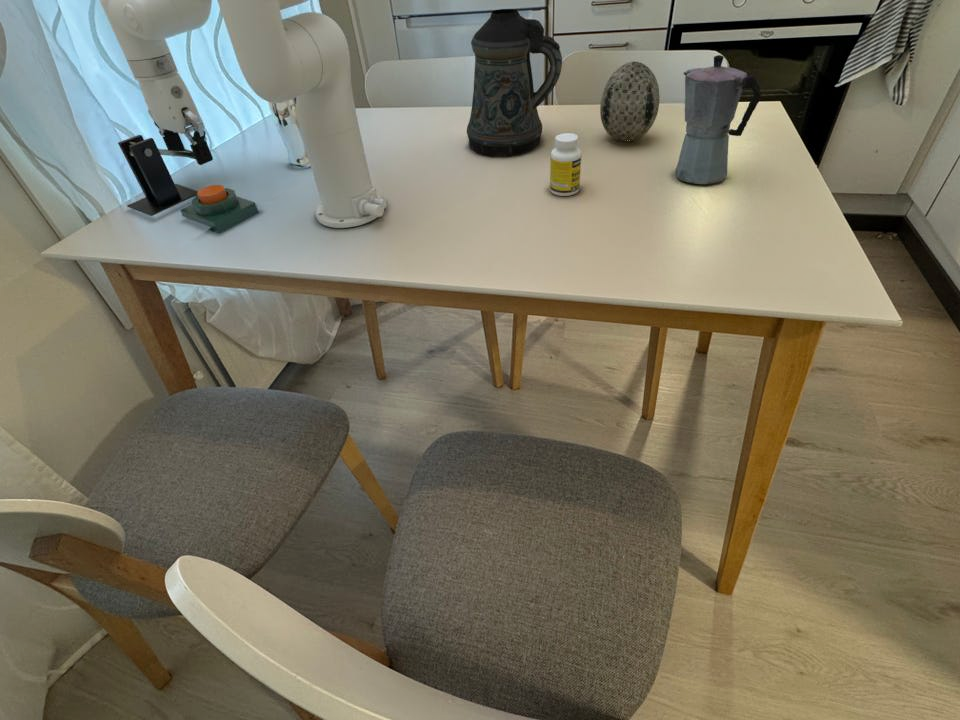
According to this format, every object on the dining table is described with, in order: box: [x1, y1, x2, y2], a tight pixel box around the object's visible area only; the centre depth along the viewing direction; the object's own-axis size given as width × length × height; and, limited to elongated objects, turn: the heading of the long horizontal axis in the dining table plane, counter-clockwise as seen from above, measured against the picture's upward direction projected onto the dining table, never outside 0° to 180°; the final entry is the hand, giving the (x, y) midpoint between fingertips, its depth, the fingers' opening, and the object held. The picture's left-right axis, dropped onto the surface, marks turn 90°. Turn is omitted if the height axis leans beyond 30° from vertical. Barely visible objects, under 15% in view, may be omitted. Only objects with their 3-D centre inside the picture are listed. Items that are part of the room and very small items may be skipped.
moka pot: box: [675, 54, 762, 185], centre depth 95 cm, size 10×15×20 cm, turn 36°
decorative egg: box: [599, 61, 661, 143], centre depth 112 cm, size 12×12×15 cm
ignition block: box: [180, 187, 259, 235], centre depth 103 cm, size 11×9×4 cm
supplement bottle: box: [549, 132, 582, 197], centre depth 98 cm, size 5×5×10 cm
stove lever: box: [129, 142, 196, 160], centre depth 108 cm, size 12×6×2 cm, turn 145°
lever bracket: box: [117, 134, 199, 217], centre depth 107 cm, size 11×9×13 cm
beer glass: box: [267, 98, 311, 169], centre depth 117 cm, size 7×7×15 cm
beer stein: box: [466, 8, 563, 158], centre depth 113 cm, size 16×19×25 cm
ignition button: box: [196, 184, 227, 204], centre depth 102 cm, size 5×5×2 cm
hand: (192, 158), depth 112 cm, fingers open, 9 cm apart
